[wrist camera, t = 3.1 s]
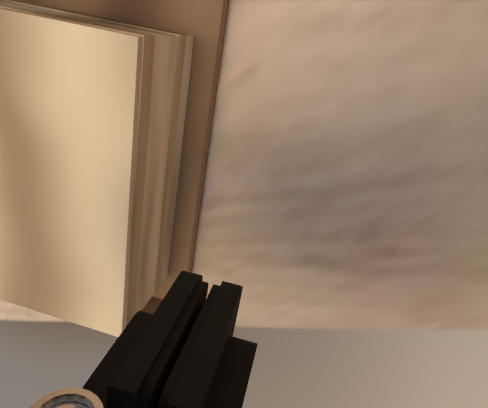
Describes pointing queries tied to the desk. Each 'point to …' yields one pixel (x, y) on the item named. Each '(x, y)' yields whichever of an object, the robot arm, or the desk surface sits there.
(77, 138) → the cream hardcover book
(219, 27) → the bay
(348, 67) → the desk surface
